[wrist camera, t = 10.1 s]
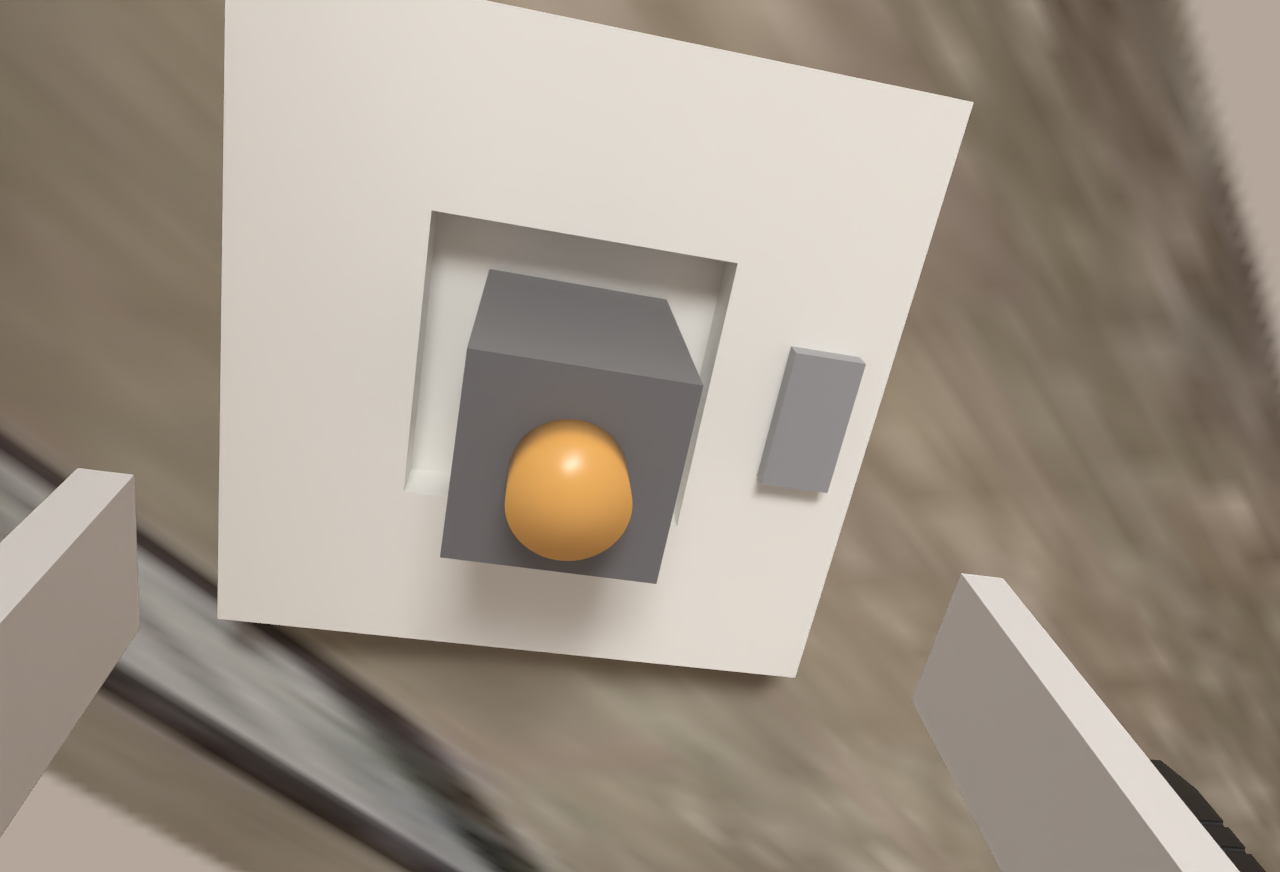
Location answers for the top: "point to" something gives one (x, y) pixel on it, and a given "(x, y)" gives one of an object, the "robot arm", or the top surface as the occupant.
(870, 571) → the top surface
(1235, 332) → the top surface
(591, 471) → the plug
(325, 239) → the socket plate
